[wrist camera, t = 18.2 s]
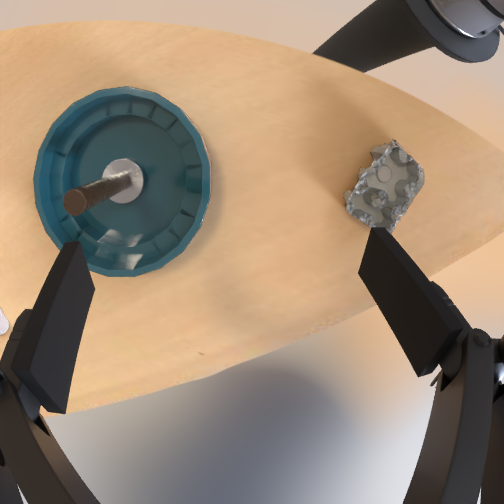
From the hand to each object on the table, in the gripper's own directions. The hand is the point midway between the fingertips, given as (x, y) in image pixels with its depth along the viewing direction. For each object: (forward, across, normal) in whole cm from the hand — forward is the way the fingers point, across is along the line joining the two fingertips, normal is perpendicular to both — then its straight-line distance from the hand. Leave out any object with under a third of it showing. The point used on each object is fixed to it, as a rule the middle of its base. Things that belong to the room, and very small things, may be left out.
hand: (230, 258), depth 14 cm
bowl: (+23, -10, -5) cm, 25 cm away
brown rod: (+22, -10, -5) cm, 25 cm away
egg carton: (+21, +21, -6) cm, 30 cm away
